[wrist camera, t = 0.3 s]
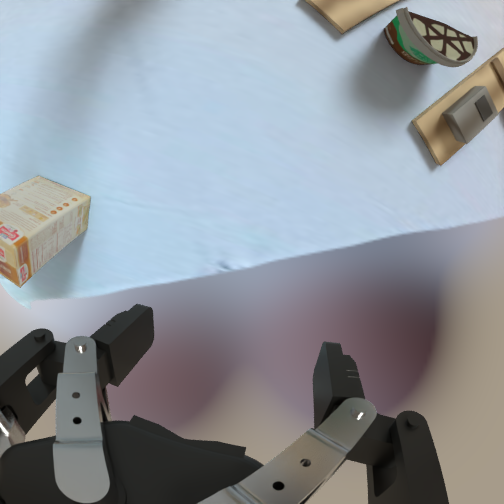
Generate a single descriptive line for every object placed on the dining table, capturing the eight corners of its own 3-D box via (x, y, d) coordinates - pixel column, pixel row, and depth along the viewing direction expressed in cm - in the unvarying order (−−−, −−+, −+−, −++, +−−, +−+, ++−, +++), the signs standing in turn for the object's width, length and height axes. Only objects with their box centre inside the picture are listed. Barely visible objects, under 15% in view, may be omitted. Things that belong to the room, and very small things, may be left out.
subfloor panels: (286, -15, 23) (287, -29, 19) (410, -64, 11) (419, -74, 7) (443, 178, 34) (459, 186, 30) (527, 96, 23) (542, 99, 19)
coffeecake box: (36, 206, 42) (-30, 251, 25) (38, 174, 39) (-37, 212, 21) (88, 230, 44) (20, 290, 26) (91, 195, 40) (13, 247, 23)
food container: (377, 62, 28) (408, 49, 19) (374, 26, 25) (402, 5, 16) (445, 80, 27) (484, 78, 18) (442, 46, 24) (479, 38, 15)
